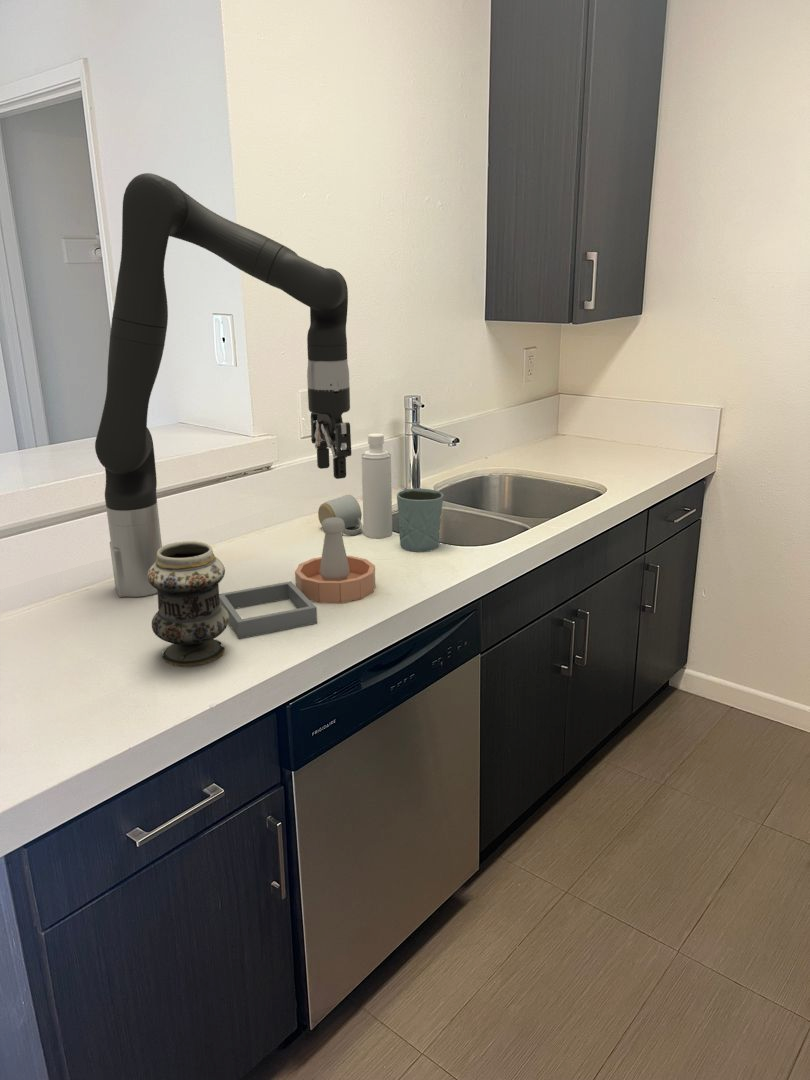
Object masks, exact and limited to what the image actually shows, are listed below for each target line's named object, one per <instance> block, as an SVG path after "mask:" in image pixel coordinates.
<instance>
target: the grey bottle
mask: <svg viewBox="0 0 810 1080" xmlns="http://www.w3.org/2000/svg"><path fill="white" fill-rule="evenodd" d="M384 436H385V435H384V433H379V432H378V433H375V432H374V433H373V432H372V433H369V434H368V435H367V444H368V446H369V449H368V450H365V451H364V452H363V454H361V485H362V487H361V489H362V491H361V492H362V521H363V522H362V527H363V530H362V531H363V536H364V537H366V538H370V539H386V538H388V537H390V536H392V535H393V504H392V503H393V500H392V498H393V497H392V496H393V494H392V493H393V492H392V491H393V490H392V489H393V488H392V487H393V486H392V454H391V453H390V452H389V451H388V450H386V449H384V443H385V437H384Z"/></svg>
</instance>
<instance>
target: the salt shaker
mask: <svg viewBox="0 0 810 1080" xmlns="http://www.w3.org/2000/svg"><path fill="white" fill-rule="evenodd" d="M321 529H322V532H324V539H323V546H322V553H321V557H322V559H321V566H320V575H321V577H322V579H323V581H342V580H347V578H348V576H349V574H350V569H349V564H348V560H347V556H348V555H347V552H346V548H345V542H344V537H343V533H341V532H343V531H344V529H345V524H344V521H343V520H342V519H341V518H336V517H331V518H327V519H325V520H324V521H323V522H322V525H321Z"/></svg>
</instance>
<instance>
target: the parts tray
mask: <svg viewBox="0 0 810 1080" xmlns="http://www.w3.org/2000/svg"><path fill="white" fill-rule="evenodd" d="M219 599H220V605H221V606H222V607H224V608H225V609H226V611H227V612H228V615H229V622H228V625H229V624H230V625H229V626H230V628H231V627H232V628H231V629H232V630H234V631H233V632H234V633H235V635H236V636H237V638H238V639H239V638H240V639H244V638H249V637H255V636H260V635H264V634H269V633H273V632H279V631H283V630H290V629H293V628H294V629H295V628H299V627H300V628H301V627H304V626H310V625H315V624H318V611H317V610H318V609H317V606H316V605H315V604H314V603H313V601H311V600H309V599H308V598H307V597H306V596H305V595H304V594H303V593H302V592H301V591H300V590H299V589H298V588H297V587H296V584H294V583H293V581H291V580H290V581H286V582H279V583H278V582H277V583H274V584H269V585H268V584H266V585H262V586H261V585H260V586H258V587H257V586H255V587H250V588H244V589H241V590H239V589H238V590H234V591H229V592H223V593H219ZM283 600H289V601H290V602H291V603H292V604H293V605H294V607H296V608H294V609H289V610H283V611H279V612H273V613H268V614H263V615H262V614H261V615H257V616H251V617H246V618H242V617H241V616H240V614H239V613H238V611H237V610H236V609H239V608H238V607H241V608H246V607H250V606H251V605H252V606H257V605H261V604H267V603H272V602H278V601H283ZM234 608H235V609H234Z"/></svg>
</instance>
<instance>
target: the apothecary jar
mask: <svg viewBox="0 0 810 1080" xmlns="http://www.w3.org/2000/svg"><path fill="white" fill-rule="evenodd" d="M225 573H226V567H225V564H224V563H223V561H221V560H220V558H218V557H217V556H215V554H214V551H213V548H212V546H211V545H210V544H208V543H206V542H203V541H198V540H197V541H196V540H195V541H193V540H187V541H186V540H185V541H176V542H172V543H168V544H165V545H162V547H161V548H160V549H159V550H158V551H157V560H156V562H155V563H154V564H153V565H152V566H151V567H150V569H149V571H148V580H149V583H150V584H151V585H152V586H153V587H154V588H156V589H157V593H156V594H157V603H158V604H157V605H158V609H157V612H156V613H155V614H154V615H153V616H152V619H151V630H152V632H153V634H154V635H155V636H156V637H157V638H159V639H160V640H162V641H164V642H166V643H170V644H171V645H169V646H167V647H166V648H165V649H164V650H163V652H162V659H163V661H164V662H165V663H167V664H169V665H172V666H174V667H184V668H185V667H196V666H198V667H199V666H203V665H207V664H209V663H213V662H214V661H217V660H218V659H220V658H221V657H222V656H223V655H224V654H225V650H226V648H225V647H224V646H223V644H222V642H221V641H219V640H217V639H215V638H217V637H219V636H220V635H221V634H223V632H224V631H225V630H226V629H227V627H228V626H229V623H228V622H229V615H228V612H227V611H226V609H225V608H224V607H222V606H221V605H220V599H219V594H220V589H219V588H220V587H219V583H221V582H222V580H223V579H224V577H225Z"/></svg>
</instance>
